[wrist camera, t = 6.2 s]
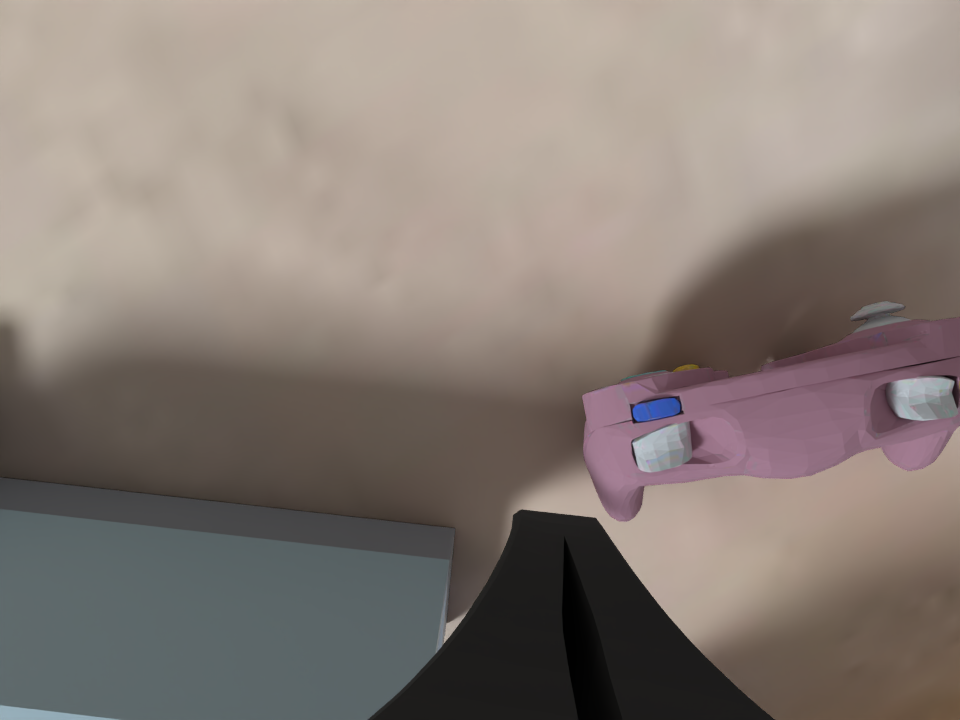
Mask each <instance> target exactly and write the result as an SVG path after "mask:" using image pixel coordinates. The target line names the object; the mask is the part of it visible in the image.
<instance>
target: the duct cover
mask: <svg viewBox="0 0 960 720" xmlns="http://www.w3.org/2000/svg"><path fill="white" fill-rule="evenodd" d="M448 571H449V560H446V559H437V558H428V557H419V556H410V555H402V554H393V553H384V552H375V551H366V550H357V549H349V548H340V547H331V546H322V545H313V544H304V543H296V542H287V541H278V540H269V539H260V538H251V537H243V536H234V535H225V534H216V533H207V532H199V531H190V530H181V529H172V528H163V527H154V526H146V525H137V524H128V523H119V522H110V521H101V520H93V519H84V518H75V517H66V516H57V515H49V514H40V513H31V512H22V511H13V510H4V509H0V720H368V719H369V718H370V717H371V716H372V715H374V714H375V713H376V712H377V711H378V710H379V709H380V708H382V707H383V706H384V705H385V704H386V703H387V702H389V701H390V700H391V699H392V698H393V697H394V696H395V695H396V694H398V693H399V692H400V691H401V690H402V689H403V688H404V687H405V686H406V685H407V684H408V683H409V682H410V681H411V680H412V679H413V678H414V677H415V676H416V674H417V673H418V672H419V671H420V670H421V669H422V668H423V667H424V666H425V665H426V664H427V663H428V662H429V660H430V659H431V658H432V657H433V656H434V655H435V654H436V653H437V649H438V642H439V635H440V629H441V622H442V615H443V608H444V601H445V595H446V588H447V581H448Z"/></svg>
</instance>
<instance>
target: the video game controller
mask: <svg viewBox="0 0 960 720" xmlns="http://www.w3.org/2000/svg"><path fill="white" fill-rule="evenodd" d="M904 308H905V306H904V305H902V304H897V303H895V302H894V303H890V302H889V301H883V302H878V303H874V304H870V305H867V306H864V307H862V308H861V310H859V311H857V312H856V313H855V314H854V315H853V316H851V317H850V318H851V321H859V320H864V319H867V322H865V323H864V324H863V325H861V326H860V327H859V328H857V329H856V330H854V332H853V333H852V334H849V335H847V336H846V337H845V338H844V339H842V340H841V341H839V342H838V343H835V344H832V345H828V346H825V347H822V348H819V349H816V350H813V351H809V352H806V353H803V354H799V355H796V356H792V357H788V358H785V359H781V360H777V361H774V362H770V363H766V364H764V365H762V366H761V371H760V372H755V373H750V374H746V375H741V376H736V377H731V378H729V375H728V371H725V370H719V371H713V369H712V368H709V367H708V368H699V366H697V365H694V364H690V365H683V366H680V367H677V368H676V369H675V370H673V372H667V371H666V370H661V371H655V372H648V373H643V374H639V375H635V376H630V377H627V378H624V379H622V380H621V382H620V383H618V384H616V385H612V386H607V387H603V388H600V389H596V390H593V391H591V392H588V393H586V394H584V395H583V396H582V399H583V404H584V409H585V414H586V422H585V428H584V445H583V454H584V461H585V463H586V466H587V468H588V471H589V473H590V476H591V478H592V481H593V484H594V486H595V489H596V491H597V494H598V496H599V498H600V501H601V503H602V505H603V507H604V508H605V510H606V511H607V513H608V514H609V515H610V516H611V517H612V518H614V519H616V520H617V521H629V520H631V519H633V518H634V517H635V516H636V514H637V513H638V512H639V510H640V508H641V505H642V499H643V491H644V486H646V485H660V484H673V483H685V482H691V481H697V480H704V479H710V478H716V477H722V476H735V475H747V476H753V477H760V478H779V479H792V478H798V477H805V476H811V475H813V474H816V473H818V472H821V471H823V470H826V469H828V468H831V467H833V466H836V465H838V464H839V463H841V462H843V461H845V460H846V459H848V458H850V457H851V456H853V455H855V454H857V453H860V452H863V451H866V450H870V449H875V448H880V447H881V448H882V450H883V452H884V454H885V455H886V457H887V458H888V460H890V461H891V462H892V463H893V464H895V465H896V466H898V467H900V468H902V469H904V470H907V471H912V470H918V469H923V468H925V467H926V466H928V465H930V464H931V463H933V462H934V461H935V460H936V459H937V457H938V456H939V455H940V453H941V452H942V451H943V449H944V447H945V446H946V444H947V442H948V441H949V439H950V437H951V436H952V434H953V432H954V431H955V430H956V429H957V428H958V427H959V426H960V317H957V318H949V319H942V320H936V321H929V320H917V319H915V320H910V319H907V318H905V317H898V316H890V313H894V312H897V311H900V310H903V309H904Z"/></svg>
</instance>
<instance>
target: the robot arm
mask: <svg viewBox="0 0 960 720" xmlns="http://www.w3.org/2000/svg"><path fill="white" fill-rule="evenodd" d="M368 720H775V719H773V718H772V717H771V716H770V715H768V714H767V713H766V712H765V711H764V710H762V709H761V708H760V707H759V706H758V705H756V704H755V703H754V702H753V701H752V700H751V699H750V698H748V697H747V696H746V695H745V694H744V693H743V692H742V691H741V690H739V689H738V688H737V687H736V686H735V685H734V684H733V683H732V682H731V681H730V680H729V679H728V678H727V677H726V676H725V675H724V674H723V673H722V672H721V671H720V670H719V669H717V668H716V667H715V666H714V665H713V664H712V663H711V662H710V661H709V660H708V659H707V658H706V657H705V656H704V655H703V654H702V653H701V652H700V651H699V650H698V649H697V648H696V647H695V646H694V645H693V643H692V642H691V641H690V640H689V639H688V638H687V637H686V636H685V635H684V633H683V632H682V631H681V630H680V629H679V628H678V627H677V626H676V624H675V623H674V622H673V621H672V620H671V619H670V618H669V617H668V615H667V614H666V613H665V612H664V610H663V609H662V608H661V607H660V606H659V604H658V603H657V602H656V600H655V599H654V598H653V597H652V595H651V594H650V593H649V591H648V590H647V589H646V588H645V586H644V585H643V584H642V582H641V581H640V580H639V578H638V577H637V576H636V574H635V573H634V572H633V570H632V569H631V567H630V566H629V565H628V563H627V562H626V560H625V559H624V558H623V556H622V555H621V553H620V552H619V550H618V549H617V547H616V546H615V545H614V543H613V542H612V540H611V539H610V537H609V536H608V534H607V533H606V531H605V530H604V528H603V527H602V525H601V524H600V523H599V521H598V520H597V519H596V518H592V517H583V516H574V515H565V514H556V513H547V512H538V511H530V510H520V511H518V512H517V513H515V514H514V515H513V522H512V529H511V533H510V536H509V538H508V541H507V543H506V546H505V548H504V551H503V553H502V555H501V557H500V559H499V561H498V563H497V565H496V567H495V569H494V570H493V572H492V574H491V576H490V578H489V580H488V582H487V583H486V585H485V587H484V588H483V590H482V591H481V593H480V594H479V596H478V597H477V599H476V601H475V602H474V604H473V605H472V607H471V608H470V610H469V611H468V613H467V614H466V616H465V617H464V619H463V620H462V621H461V623H460V624H459V625H458V627H457V628H456V629H455V631H454V632H453V633H452V635H451V636H450V637H449V638H448V639H447V641H446V642H445V643H444V644H443V646H442V647H441V648H440V649H439V650H438V652H437V653H436V654H435V655H434V656H433V657H432V658H431V659H430V660H429V662H428V663H427V664H426V665H425V666H424V667H423V668H422V669H421V670H420V671H419V672H418V673H417V674H416V676H415V677H414V678H413V679H412V680H411V681H410V682H409V683H408V684H407V685H406V686H405V687H404V688H403V689H402V690H401V691H400V692H399V693H398V694H396V695H395V696H394V697H393V698H392V699H391V700H390V701H389V702H387V703H386V704H385V705H384V706H383V707H382V708H380V709H379V710H378V711H377V712H376V713H375V714H374V715H372V716H371V717H370V718H369V719H368Z"/></svg>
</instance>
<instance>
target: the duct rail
mask: <svg viewBox="0 0 960 720" xmlns="http://www.w3.org/2000/svg"><path fill="white" fill-rule="evenodd" d="M0 509H4V510H13V511H22V512H31V513H40V514H49V515H57V516H66V517H75V518H84V519H93V520H101V521H110V522H119V523H128V524H137V525H146V526H154V527H163V528H172V529H181V530H190V531H199V532H207V533H216V534H225V535H234V536H243V537H251V538H260V539H269V540H278V541H287V542H296V543H304V544H313V545H322V546H331V547H340V548H349V549H357V550H366V551H375V552H384V553H393V554H402V555H410V556H419V557H428V558H437V559H446V560H449V571H448V581H447V588H446V595H445V601H444V608H443V615H442V622H441V629H440V635H439V642H438V649H437V652H438V650H439V649H440V648H441V647H442V646H443V643H444V636H445V629H446V622H447V611H448V600H449V590H450V579H451V568H452V557H453V547H454V536H455V528H447V527H438V526H430V525H421V524H412V523H403V522H394V521H385V520H376V519H367V518H358V517H349V516H340V515H332V514H323V513H314V512H305V511H296V510H287V509H278V508H269V507H260V506H251V505H242V504H234V503H225V502H216V501H207V500H198V499H189V498H180V497H171V496H162V495H153V494H144V493H136V492H127V491H118V490H109V489H100V488H91V487H82V486H73V485H64V484H55V483H46V482H38V481H29V480H20V479H11V478H2V477H0Z"/></svg>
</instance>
